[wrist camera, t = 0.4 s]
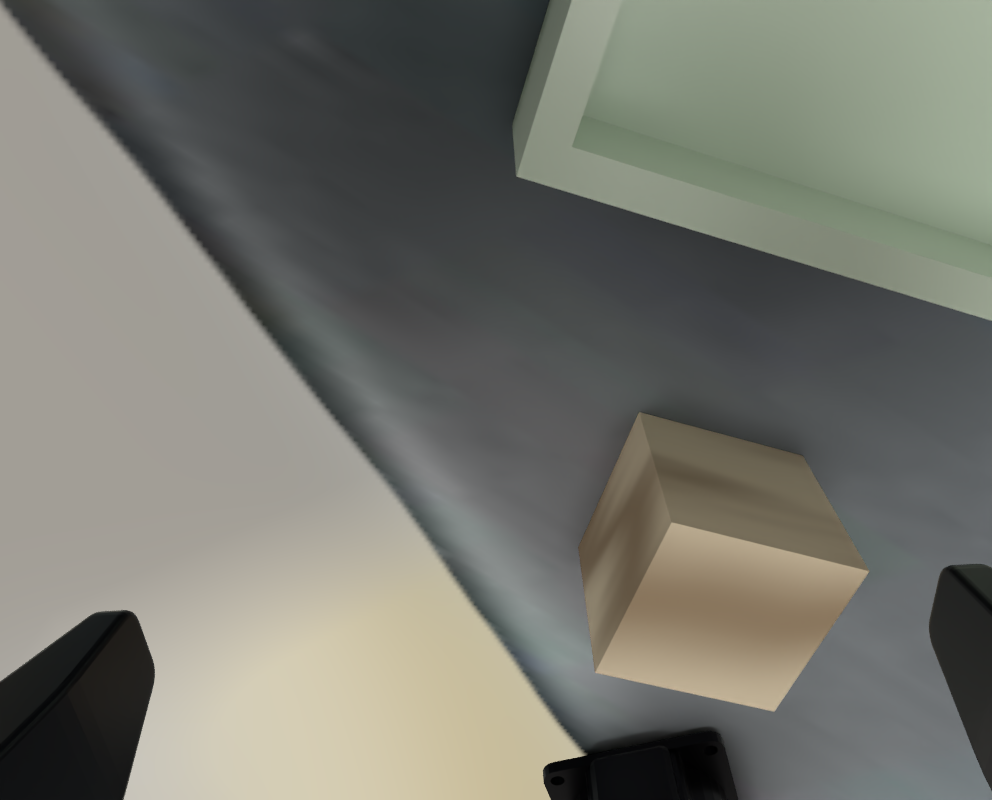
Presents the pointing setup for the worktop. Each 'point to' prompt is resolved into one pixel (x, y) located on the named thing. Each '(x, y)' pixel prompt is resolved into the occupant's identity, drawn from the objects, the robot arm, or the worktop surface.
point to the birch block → (713, 565)
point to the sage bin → (780, 129)
